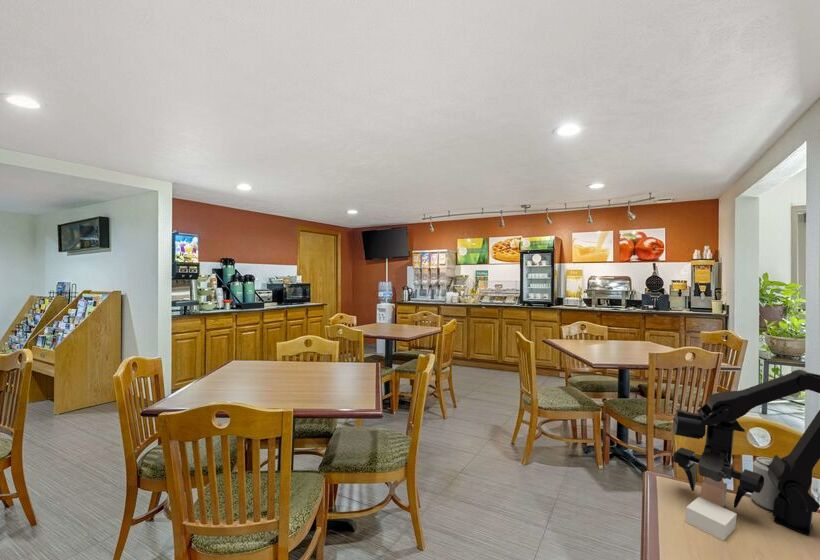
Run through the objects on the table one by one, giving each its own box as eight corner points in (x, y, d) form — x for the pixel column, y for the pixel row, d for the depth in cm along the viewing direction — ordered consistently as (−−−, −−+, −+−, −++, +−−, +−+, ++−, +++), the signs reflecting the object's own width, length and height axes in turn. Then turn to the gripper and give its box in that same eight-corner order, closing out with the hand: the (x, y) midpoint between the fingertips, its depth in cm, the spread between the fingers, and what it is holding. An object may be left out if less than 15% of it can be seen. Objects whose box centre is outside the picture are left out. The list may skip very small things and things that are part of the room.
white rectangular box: (735, 529, 98) (736, 513, 98) (723, 541, 94) (725, 525, 93) (697, 511, 105) (698, 496, 104) (684, 522, 100) (686, 507, 100)
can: (796, 513, 105) (798, 468, 105) (769, 513, 104) (771, 467, 104) (768, 497, 112) (771, 455, 112) (743, 497, 112) (745, 454, 112)
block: (725, 505, 107) (727, 483, 107) (720, 511, 105) (722, 489, 104) (704, 497, 111) (706, 476, 110) (700, 503, 108) (702, 481, 108)
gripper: (668, 437, 108) (663, 492, 109) (758, 467, 94) (752, 530, 95) (681, 427, 115) (677, 479, 117) (767, 453, 101) (761, 512, 102)
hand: (713, 498), depth 107 cm, fingers open, 9 cm apart
